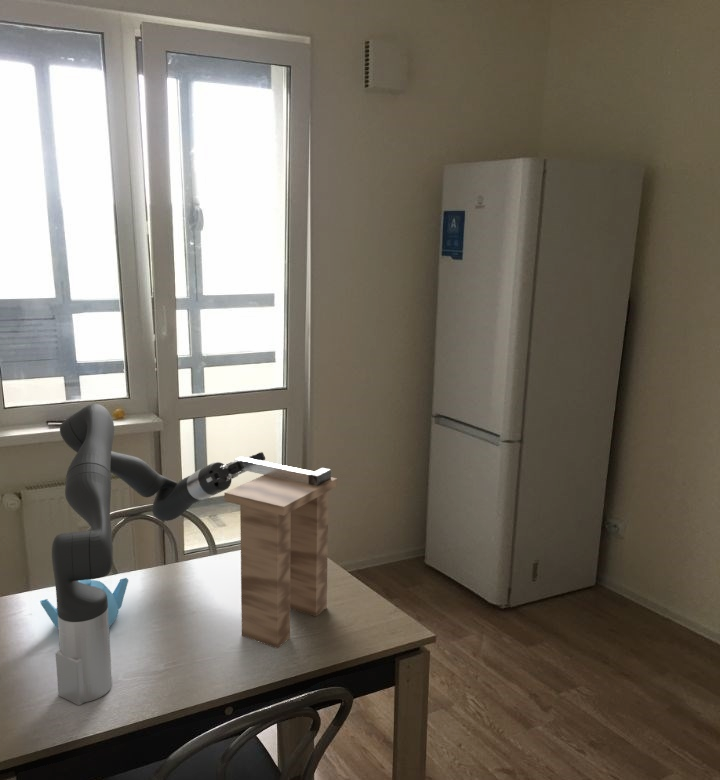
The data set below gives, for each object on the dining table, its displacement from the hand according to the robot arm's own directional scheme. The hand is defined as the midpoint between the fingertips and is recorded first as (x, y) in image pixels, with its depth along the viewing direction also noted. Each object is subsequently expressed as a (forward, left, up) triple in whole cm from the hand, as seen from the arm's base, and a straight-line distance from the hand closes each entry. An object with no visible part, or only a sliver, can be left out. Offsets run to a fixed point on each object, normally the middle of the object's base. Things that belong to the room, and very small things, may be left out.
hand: (252, 460), depth 172 cm
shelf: (-5, -12, -37) cm, 39 cm away
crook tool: (+2, -7, -3) cm, 8 cm away
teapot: (-30, +26, -37) cm, 54 cm away
